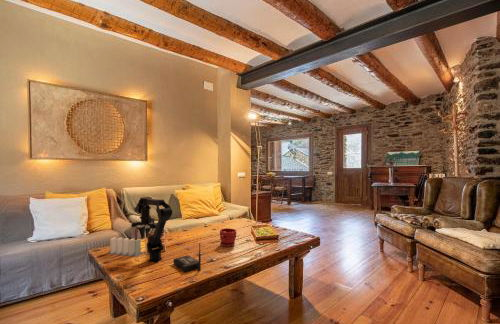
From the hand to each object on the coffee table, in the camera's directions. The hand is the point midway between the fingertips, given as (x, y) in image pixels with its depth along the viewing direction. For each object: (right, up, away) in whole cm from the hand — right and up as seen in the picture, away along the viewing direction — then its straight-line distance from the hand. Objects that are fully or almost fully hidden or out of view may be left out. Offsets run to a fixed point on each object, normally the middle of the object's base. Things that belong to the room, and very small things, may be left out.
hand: (145, 237), depth 176 cm
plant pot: (+56, -14, +24) cm, 62 cm away
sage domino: (-6, -12, +1) cm, 14 cm away
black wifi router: (+35, -14, -19) cm, 42 cm away
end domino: (-25, -12, +5) cm, 29 cm away
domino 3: (-11, -12, +2) cm, 17 cm away
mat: (-16, -13, +3) cm, 21 cm away
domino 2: (-16, -12, +3) cm, 20 cm away
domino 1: (-21, -12, +4) cm, 24 cm away
